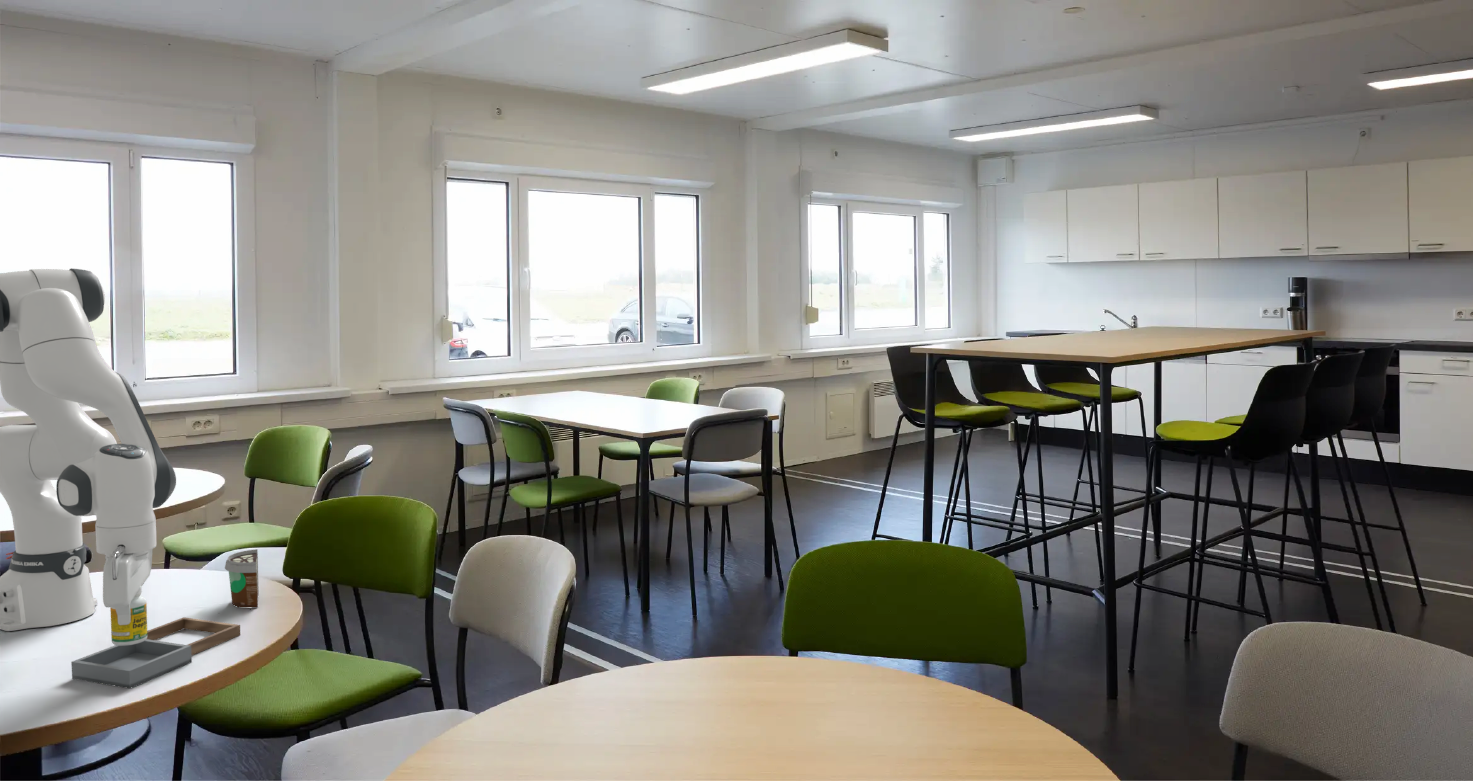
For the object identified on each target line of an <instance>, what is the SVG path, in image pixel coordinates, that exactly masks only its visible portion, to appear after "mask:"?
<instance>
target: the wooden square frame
mask: <svg viewBox="0 0 1473 781" xmlns="http://www.w3.org/2000/svg"><path fill="white" fill-rule="evenodd" d="M182 630H189V631H197V632H204V633H212V634H209V635H207V636H204V637H203V638H201V639H198V640H195V641H193V642H190V643H187V645H190V646H191V654H192V656H195V655H197V654H199V653H201V652H203V651H205V650H209V649H211V648H213V647H215V646H218V645H220V644H222V643H224V642H228V641H230V640H232V639H235V638H236V637H239V636H241V625H240V624H238V623H237V624H235V623H227V622H221V621H220V622H219V621H215V620H214V621H213V620H208V619H207V620H206V619H201V618H200V619H199V618H191V617H185V616H184V617H182V618H179V619H175V620H173V621H170V622H168V623H165V624H162V625H159V626H157V627H154V628H150V629H149V630H148V629H147V639H149V640H156V641H158V640H159V639H161V638H164V637H166V636H169V634H170V635H172V634H175V633H177V632H179V631H182Z"/></svg>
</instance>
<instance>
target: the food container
mask: <svg viewBox="0 0 1473 781" xmlns="http://www.w3.org/2000/svg"><path fill="white" fill-rule="evenodd" d="M258 552H259V551H258V549H256V548H255V549H248V550H242V551H237V552H234V553H232V554H230V555H229V556H227V559H226V561H225V564H224V570H226V571H227V572H228V577H229V578H228V580H229V586H230V595H231V597H230V598H231V605H232V604H233V605H235V606H237V607H236V608H239V607H258V608H259V597H260V596H259V595H260V594H259V592H260V591H259V561H258V560H259V558H258V557H259V556H258V554H259V553H258ZM258 596H259V597H258ZM233 605H232V606H233ZM235 606H234V607H235Z"/></svg>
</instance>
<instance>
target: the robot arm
mask: <svg viewBox="0 0 1473 781" xmlns="http://www.w3.org/2000/svg"><path fill="white" fill-rule="evenodd" d="M105 303H106V296H105V290H104V288H103V286H102V283H101V282H100V279H99V278H98V277H97V276H96V275H95V273H93V272H92V271H91V270H88V269H87V270H86V269H81V268H69V269H59V268H58V269H57V268H38V269H37V268H36V269H35V268H34V269H33V268H32V269H29V270H19V271H9V272H3V273H2V272H1V273H0V390H1V396H2V397H3V399H4V401H5V402H6V403H7V404H8V405H10V406H11V407H12V408H14V409H17V410H19V411H21V412H23V413H25V415H27V416H28V417H29V418H30V419H31V420H32V421H33V422H34V424H8V425H7V424H6V425H2V426H1V425H0V494H1V495H2V497H3V499H4V500H5V502H6V504H7V506H8V508H9V511H10V513H11V514H10V515H11V517H12V523H13V524H12V525H13V533H14V543H15V545H14V546H15V550H14V551H12V552H8V553H5V556H7V557H6V558H5V560H10V563H9V567H8V570H7V571H5V572H4V573H2V575H1V576H0V630H2V631H5V632H10V631H12V632H13V631H19V630H25V629H33V628H44V627H52V626H58V625H64V624H67V623H68V624H69V623H71V622H76V621H78V620H82V619H84V618H87V617H89V616H91V615H93V614H94V613H95V612H96V610H97V609H96V606H97V605H98V598H97V597H94V594H93V587H92V582H91V581H92V580H91V575H90V570H89V567H88V566H86V565H85V562H87V549H86V544H85V543H83V525H82V524H83V523H82V517H90V516H96V520H95V525H94V526H95V551H96V553H98V554H100V555H105V556H104V559H105V562H104V564H103V572H102V602H103V605H104V607H105V608H110V607H115V609H116V612H117V615H118V624H119V625H127V624H129V623H130V622H131V620H132V612H131V610H130V604H131V600H132V599H133V598H134V596H135V595H136V594H137V592H138V591H139V587H140V586H141V587H142V588H143V586H144V584H145V582H147V580H148V578H149V577H150V575H151V571H152V563H153V552H154V551H153V549H155V548H156V547H157V527H156V526H157V523H156V522H157V521H156V515H155V511H154V509H158V508H159V507H161V506H162V505H164V503H166V502H167V501H168V500H169V498H170V497H171V495H172V494H173V493H174V491H175V489H176V485H177V476H176V472H175V470H174V467H173V465H172V464H171V463H170V461H169V460H168V458H167V456H166V455H165V453H164V452H163V451H162V449H161V447H160V445H159V443H158V441H157V439H156V437H155V435H154V433H153V430H152V428H151V426H150V424H149V422H148V419H147V418H146V415H145V413H144V411H143V409H142V407H141V405H140V403H139V400H138V399H137V397H136V395H135V392H134V391H133V388H132V387H131V385H130V383H129V382H128V380H127V379H126V378H125V377H124V375H122V374H121V373H118V371H117V372H116V371H115V370H113V368H112V367H110V365H109V364H108V363H107V362H106V360H105V359H104V358H103V357H102V354H101V353H100V351H99V348H98V346H97V342H96V338H95V336H94V332H93V330H92V327H91V324H90V323H92V322H93V321H96V320H97V319H98V318H99V317H100V316H101V315H103V313H104V308H105ZM81 404H82V405H85V406H87V407H88V406H89V407H91V408H93V409H95V410H97V411H99V412H101V413H102V414H104V415H105V416H106V417H107V418H108V419H109V420H110V421H111V424H112V426H113V428H114V430H115V433H116V434H117V437H118V439H119V441H120V443H117V440H116V438H115V436H114V435H113V434H112V433H111V432H110V431H109V430H108V429H107V428H105V427H102V426H101V425H100V424H98V423H97V422H96V421H94V420H93V419H92V418H91V417H90V416H89V415H88V414H87V413H86V412H85V410H84V409H83V408H82V407H81ZM52 481H56V485H55V486H56V487H54V485H53V484H52ZM141 594H142V593H141ZM141 594H140V596H142V595H141Z"/></svg>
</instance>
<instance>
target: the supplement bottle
mask: <svg viewBox="0 0 1473 781" xmlns="http://www.w3.org/2000/svg"><path fill="white" fill-rule="evenodd" d="M142 588H143V586H142V587H141V586H140V587H139V591H138V592H137V594H136V595H135V596H134V598H133V599H132V600H131V604H130V610H131V612H132V620H131V622H130V623H129V624H127V625H119V624H118V615H117V612H116V609H115V607H109V608H110V610H109V611H110V630H111V632H110V633H111V634H110V635H111V644H113V646H115V645H118V646H125V645H133V644H137V643H141V642H143V641H145V640H146V639H147V631H148V610H147V607H148V606H147V604H148V603H147V599H146V598H145V597H144V596H142V595H140V594H142V592H143V589H142Z"/></svg>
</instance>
